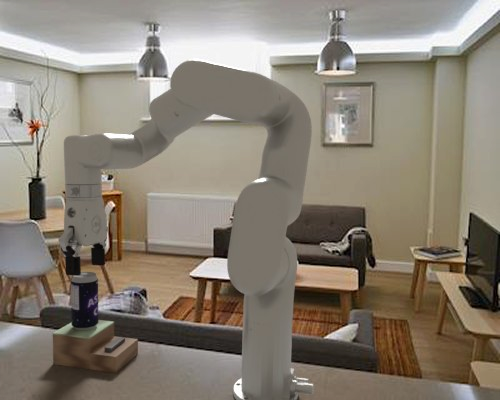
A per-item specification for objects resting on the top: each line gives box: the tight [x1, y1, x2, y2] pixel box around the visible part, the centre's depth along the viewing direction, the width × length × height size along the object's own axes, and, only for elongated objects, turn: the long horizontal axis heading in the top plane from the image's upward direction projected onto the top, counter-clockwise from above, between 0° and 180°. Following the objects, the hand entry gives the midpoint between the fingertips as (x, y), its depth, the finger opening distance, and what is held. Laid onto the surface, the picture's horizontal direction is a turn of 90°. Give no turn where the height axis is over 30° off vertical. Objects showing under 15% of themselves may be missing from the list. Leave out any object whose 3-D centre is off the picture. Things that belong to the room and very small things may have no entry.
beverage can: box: [70, 271, 99, 331], centre depth 105 cm, size 6×6×12 cm
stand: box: [52, 319, 139, 374], centre depth 105 cm, size 15×10×7 cm, turn 77°
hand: (86, 269), depth 104 cm, fingers open, 9 cm apart
